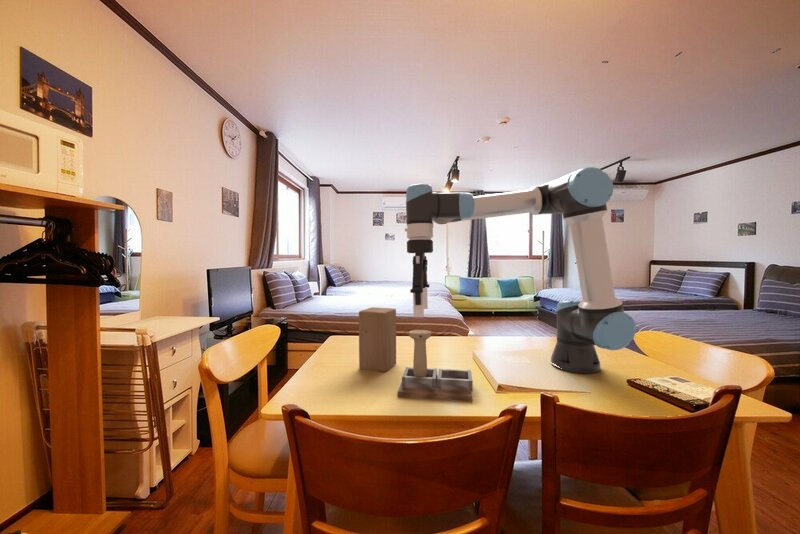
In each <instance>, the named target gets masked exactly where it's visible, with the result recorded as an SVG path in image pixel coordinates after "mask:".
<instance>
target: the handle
mask: <svg viewBox="0 0 800 534" xmlns="http://www.w3.org/2000/svg"><path fill="white" fill-rule="evenodd" d="M408 336H409V338H410V339H413V341H414V342H413V364H412V365H413V369H414V376H415V377H426V374H427V368H428V359H427V340H428V339H429V338H431V336H432V331H431V330H426V329H413V330H409V331H408Z"/></svg>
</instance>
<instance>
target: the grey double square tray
mask: <svg viewBox="0 0 800 534" xmlns="http://www.w3.org/2000/svg"><path fill="white" fill-rule="evenodd" d="M472 375H473V374H472V371H471V369H469V370H468V369H453V368H452V369H448V368H434V367H433V368H431V367H430V368H429V367H427V374H426V377H415V376H414V369H413V367H412V366H410V367H408V366H406V367H405V369H404V371H403V373H402V376H401V382H400V385H399V387H398V390H397V397H398V398H410V399H411V398H413V399H423V400H424V399H426V400H427V399H429V400H441V401H455V402H457V401H459V402H471V403H473V392H474V391H473V390H474V389H473V388H474V387H473V386H474V385H473V376H472Z"/></svg>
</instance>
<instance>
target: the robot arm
mask: <svg viewBox="0 0 800 534" xmlns="http://www.w3.org/2000/svg"><path fill="white" fill-rule="evenodd" d="M613 192H614V184H613V181H612V178H611V177H610V175H608V173H607V172H605V171H603V170H602V169H600V168H598V167H594V166H589V167H584V168H580V169H577V170H574V171H572V172H571V173H568V174H565V175H563V176H562V177H559V178H556V179H554V180H551V181H549V182H547V183H543V184H540V185H534V186H533V185H532V186H530V188H529V189H525V190H517V191H509V192H502V193H501V192H500V193H492V194H491V193H490V194H485V195H484V194H483V195H476V196H474V195H473V193H471V192H462V191H459V192H456V191H455V192H435V191H433V187H432V185H431V184H425V183H416V184H411V185H409V186H408V187H407V188H406V193H405V194H406V195H405V196H406V197H405V198H406V199H405V208H406V209H405V213H406V217H405V218H406V228H404V231H405V232H406V237H407V241H406V252H407V253H408V254H414V255H413V257H412V283H411V284H412V286H411V287H412V288H410V289H409V292H410V294H412V298H413V299H412V300H413V301H412V304H413V306H412V309H413V310H412V311H413V313H412V314H413V318H424V317H425V314H424V313H425V311H424V310H428V308H429V307H428V288H430V284H429V282H428V273H427V271H428V258H427V256H426V254H429V253H430V254H431V253H433V252H434V241H433V240H432V239H433V237H434V227H433V226H434V224H433V222H434V223H435V224H436V225H447V224H448V223H449V224H450V223H457V222H464V221H470V220H477V219H478V220H479V219H480V220H481V219H489V218H495V217H496V218H498V217H504V216H513V215H520V214H528V213H530V215H532V216H538V215H557V214H558V215H559V214H562V219H563V220H564V221H565V222H567V223H568V224H569V225H570V231H571V238H572V243H573V250H574V254H575V255H574V256H575V262H576V268H577V273H578V279H579V285H580V291H581V297H582V298H581V299H582V300H561V301H559V302H557V305H556V343H555V345H554V349H553V351H552V353H551V357H550V363H551V362H552V363H554V364H556V365H557V366H559V367H560V368H562V369H563V370H562V371H565V372H570V373H576V374H595V373H599V372H600V371H601V361H600V359H599V355H598V353H597V350H596V349H597V348H596V347H595V346H597V347H598V348H600V349H603V350H604V349H605V350H609V351H619V350H621V349H624V348H626V347H628V346H629V345H630V343H631V341H633V340H634V337H636V331H637V326H636V325H637V324H636V322H635V320H634V318H633V316H631V315H630V314H628V313H626V312H625V311H624V304H623V301H622V300H621V299H619V298H618V297H616V294H615V293H616V292H615V287H614V282H613V275H612V268H611V264H610V257H609V252H608V250H609V249H608V244H607V239H606V231H605V227H604V220H603V218H604V216H605V214H606V213H607V212H608V207H607V203H608V202H609V201H610V199H611V197H612V196H613V194H614V193H613Z"/></svg>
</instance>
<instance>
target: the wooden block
mask: <svg viewBox="0 0 800 534" xmlns="http://www.w3.org/2000/svg"><path fill="white" fill-rule="evenodd" d="M358 355H359V356H358V358H359V361H358V362H359V363H358V369H360V370H365V371H366V370H367V371H374V372H380V373H386V372H387V371H389V370H390V369H391V368H392V367H393V366H394V365H396V364H397V309H396V308H391V307H389V308H388V307H369V308H365V309H362V310H359V312H358Z"/></svg>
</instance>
